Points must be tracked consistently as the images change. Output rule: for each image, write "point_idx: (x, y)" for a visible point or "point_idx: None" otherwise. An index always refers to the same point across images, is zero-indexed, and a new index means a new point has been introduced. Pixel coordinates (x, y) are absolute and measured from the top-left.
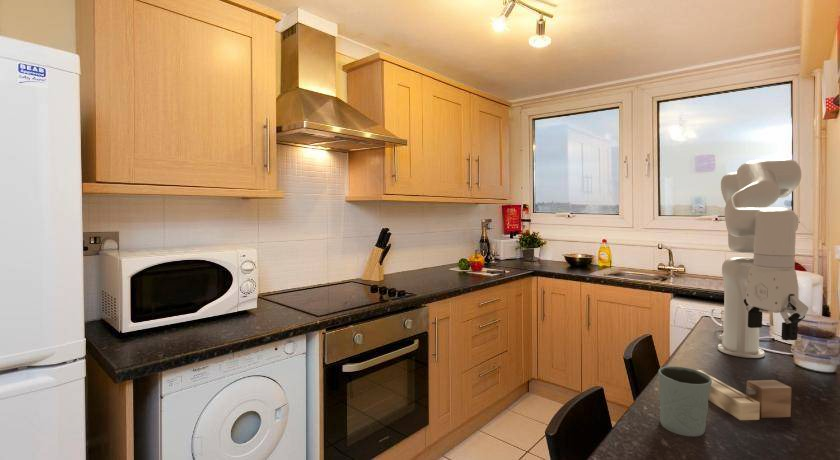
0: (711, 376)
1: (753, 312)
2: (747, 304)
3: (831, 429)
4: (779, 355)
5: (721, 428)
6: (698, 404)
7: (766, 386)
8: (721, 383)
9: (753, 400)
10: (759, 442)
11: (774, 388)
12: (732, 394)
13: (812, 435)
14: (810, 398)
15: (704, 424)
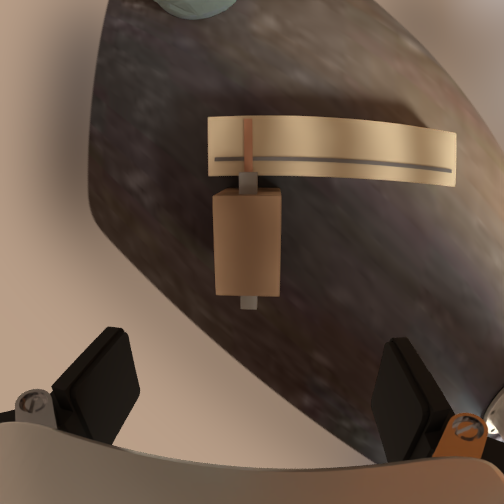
0: (408, 180)
1: (420, 433)
2: (497, 456)
3: (170, 299)
4: None
5: (183, 55)
6: None
7: (227, 223)
8: (355, 167)
9: (223, 168)
10: (123, 99)
11: (214, 239)
12: (269, 136)
13: (144, 236)
14: (313, 381)
15: (158, 3)
